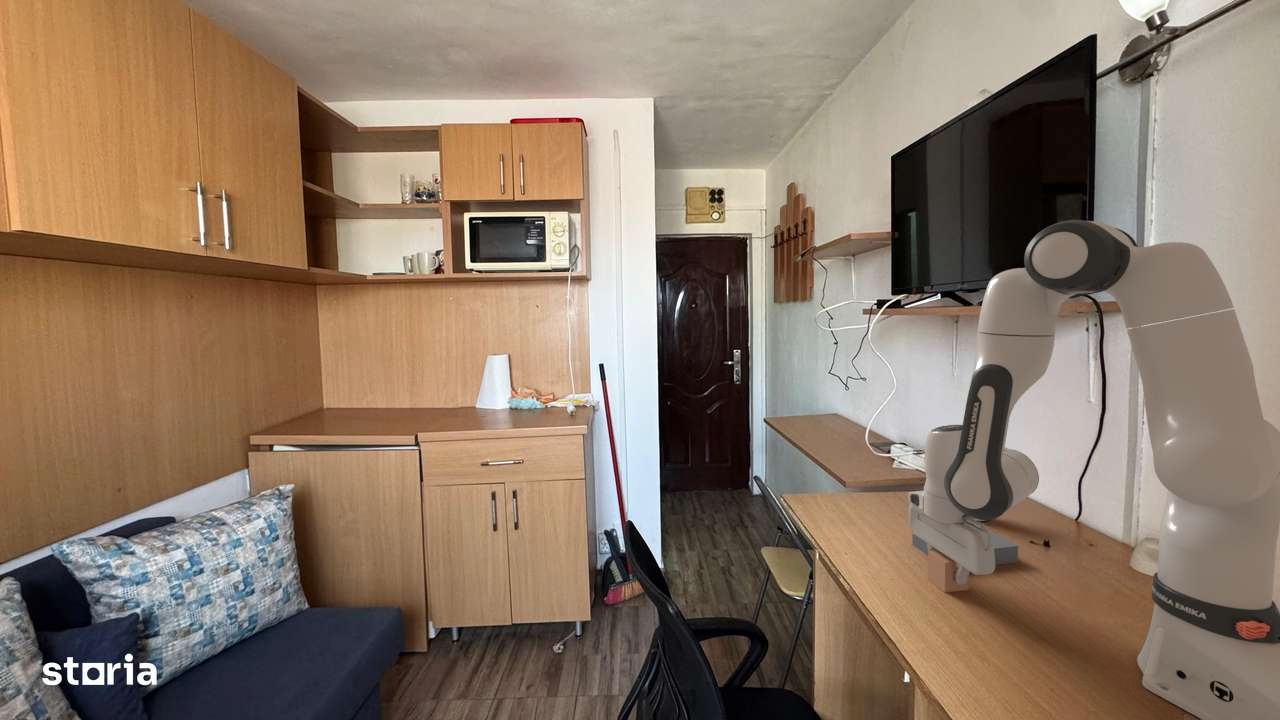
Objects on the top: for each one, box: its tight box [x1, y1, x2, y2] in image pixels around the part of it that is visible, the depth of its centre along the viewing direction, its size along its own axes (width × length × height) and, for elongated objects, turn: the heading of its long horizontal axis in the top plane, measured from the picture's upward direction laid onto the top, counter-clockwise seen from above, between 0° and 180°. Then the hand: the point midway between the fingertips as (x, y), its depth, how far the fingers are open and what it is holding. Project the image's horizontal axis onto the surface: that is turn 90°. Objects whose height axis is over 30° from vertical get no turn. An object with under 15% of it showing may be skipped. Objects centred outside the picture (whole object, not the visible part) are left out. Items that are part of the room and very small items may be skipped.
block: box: [927, 550, 970, 593], centre depth 105 cm, size 5×5×6 cm
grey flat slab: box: [911, 530, 1019, 566], centre depth 118 cm, size 12×16×4 cm
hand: (947, 574), depth 105 cm, fingers closed on block, 5 cm apart
